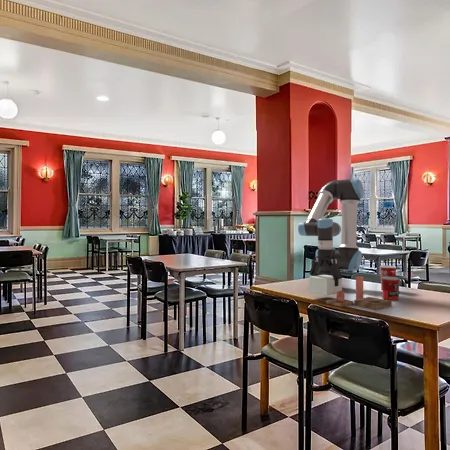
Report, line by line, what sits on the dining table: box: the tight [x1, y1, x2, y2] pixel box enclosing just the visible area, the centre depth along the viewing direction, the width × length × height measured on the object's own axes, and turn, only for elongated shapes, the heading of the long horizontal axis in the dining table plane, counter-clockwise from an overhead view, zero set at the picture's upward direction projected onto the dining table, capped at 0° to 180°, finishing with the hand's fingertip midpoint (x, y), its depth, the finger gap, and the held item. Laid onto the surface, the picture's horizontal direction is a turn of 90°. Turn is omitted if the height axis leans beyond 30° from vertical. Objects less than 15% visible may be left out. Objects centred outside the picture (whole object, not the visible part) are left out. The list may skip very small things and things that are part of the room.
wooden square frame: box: [353, 296, 393, 311], centre depth 188 cm, size 12×12×2 cm
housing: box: [308, 275, 343, 296], centre depth 204 cm, size 12×12×8 cm
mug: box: [379, 265, 397, 291], centre depth 224 cm, size 13×9×14 cm
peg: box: [355, 276, 364, 300], centre depth 198 cm, size 4×4×12 cm
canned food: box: [382, 276, 400, 302], centre depth 202 cm, size 8×8×11 cm
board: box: [325, 290, 354, 308], centre depth 192 cm, size 9×9×6 cm
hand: (325, 290), depth 204 cm, fingers closed on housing, 12 cm apart
